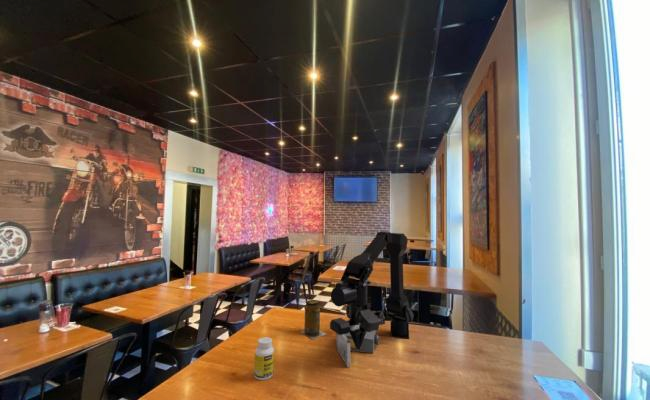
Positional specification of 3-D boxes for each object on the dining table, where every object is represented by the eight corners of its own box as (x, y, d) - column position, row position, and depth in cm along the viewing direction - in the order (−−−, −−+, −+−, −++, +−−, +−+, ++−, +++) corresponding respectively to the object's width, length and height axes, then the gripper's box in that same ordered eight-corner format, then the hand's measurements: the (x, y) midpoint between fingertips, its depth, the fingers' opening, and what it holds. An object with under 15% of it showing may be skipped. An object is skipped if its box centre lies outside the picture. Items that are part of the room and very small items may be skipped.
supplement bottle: (263, 383, 73) (264, 346, 73) (250, 376, 75) (251, 341, 76) (277, 373, 77) (278, 338, 78) (263, 367, 80) (264, 334, 81)
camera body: (379, 343, 97) (379, 323, 97) (376, 355, 88) (376, 333, 88) (342, 338, 101) (342, 318, 101) (336, 349, 92) (336, 327, 92)
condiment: (313, 327, 110) (314, 298, 111) (327, 334, 104) (327, 303, 105) (299, 332, 106) (299, 301, 107) (312, 339, 99) (312, 306, 100)
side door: (350, 366, 81) (350, 342, 81) (345, 367, 80) (345, 343, 81) (340, 349, 92) (340, 328, 92) (335, 349, 91) (335, 328, 92)
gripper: (349, 312, 75) (349, 369, 74) (397, 302, 85) (397, 352, 84) (329, 301, 85) (328, 351, 84) (373, 293, 95) (373, 338, 93)
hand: (358, 348), depth 86 cm, fingers closed
